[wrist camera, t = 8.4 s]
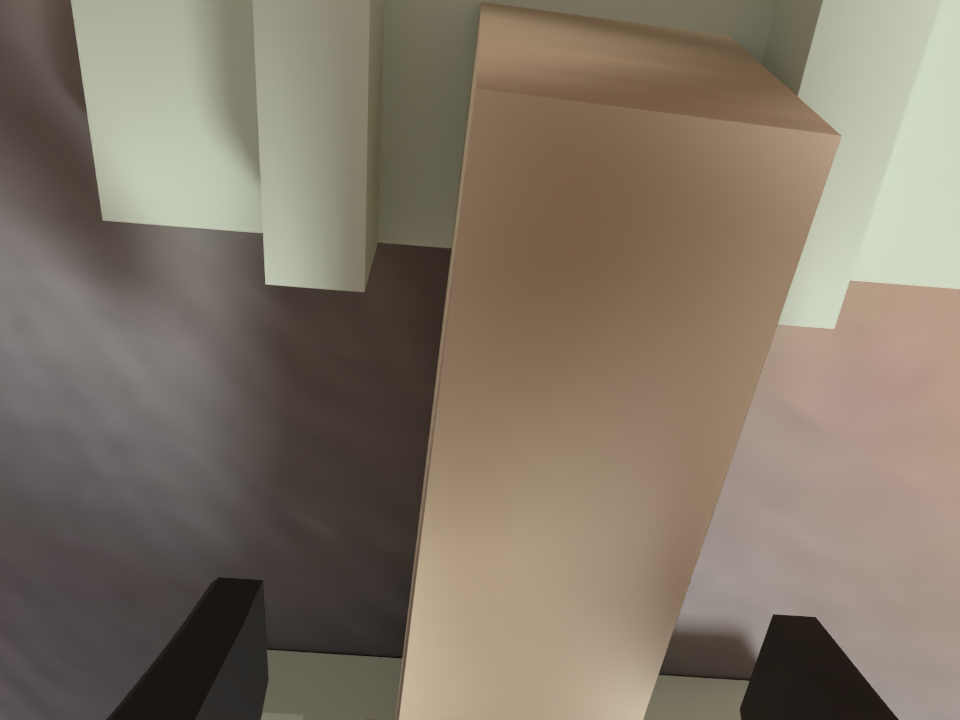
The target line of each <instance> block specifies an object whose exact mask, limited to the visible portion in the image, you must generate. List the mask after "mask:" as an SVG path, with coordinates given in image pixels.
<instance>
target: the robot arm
mask: <svg viewBox="0 0 960 720" xmlns="http://www.w3.org/2000/svg"><path fill="white" fill-rule="evenodd" d="M268 680H269V676H268V659H267V642H266V625H265V608H264V591H263V580H250V579H235V578H220V577H219V578H218V579H216V580H215V581H213V582H212V583H211V584H210V586H209V587H208V589H207V590H206V592H205V593H204V595H203V596H202V598H201V599H200V601H199V602H198V603H197V605H196V606H195V608H194V609H193V611H192V612H191V613H190V615H189V616H188V618H187V619H186V620H185V622H184V623H183V625H182V626H181V627H180V629H179V630H178V631H177V633H176V634H175V635H174V637H173V638H172V639H171V641H170V642H169V643H168V645H167V646H166V647H165V649H164V650H163V651H162V652H161V654H160V655H159V656H158V658H157V659H156V660H155V661H154V663H153V664H152V665H151V666H150V668H149V669H148V670H147V671H146V673H145V674H144V675H143V676H142V677H141V679H140V680H139V681H138V682H137V684H136V685H135V686H134V687H133V689H132V690H131V691H130V692H129V693H128V695H127V696H126V697H125V698H124V700H123V701H122V702H121V703H120V704H119V706H118V707H117V708H116V709H115V710H114V711H113V713H112V714H111V715H110V716H109V717H108V718H107V719H106V720H261V716H262V711H263V706H264V701H265V696H266V691H267V686H268ZM740 715H741V720H898V718H897V717H896V716H895V715H894V714H893V712H892V711H891V710H890V709H889V708H888V706H887V705H886V704H885V703H884V701H883V700H882V699H881V698H880V696H879V695H878V694H877V693H876V692H875V690H874V689H873V688H872V687H871V685H870V684H869V683H868V682H867V680H866V679H865V678H864V677H863V675H862V674H861V673H860V672H859V670H858V669H857V668H856V667H855V666H854V664H853V663H852V662H851V661H850V659H849V658H848V657H847V656H846V654H845V653H844V652H843V651H842V649H841V648H840V647H839V646H838V644H837V643H836V642H835V641H834V639H833V638H832V637H831V636H830V634H829V633H828V632H827V631H826V629H825V628H824V627H823V626H822V625H821V623H820V622H819V621H818V620H817V618H816V617H804V616H789V615H774V614H773V616H772V619H771V622H770V625H769V628H768V630H767V633H766V636H765V639H764V642H763V645H762V647H761V650H760V653H759V656H758V659H757V661H756V664H755V667H754V670H753V673H752V676H751V678H750V681H749V684H748V687H747V690H746V692H745V695H744V698H743V701H742V704H741V707H740Z"/></svg>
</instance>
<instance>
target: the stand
mask: <svg viewBox="0 0 960 720" xmlns="http://www.w3.org/2000/svg"><path fill="white" fill-rule="evenodd" d="M481 2H485V3H493V4H500V5H507V6H515V7H522V8H529V9H537V10H544V11H551V12H559V13H566V14H574V15H581V16H588V17H596V18H603V19H610V20H618V21H625V22H632V23H640V24H647V25H654V26H662V27H669V28H676V29H684V30H691V31H698V32H706V33H713V34H720V35H728V36H730V37H731V38H732V39H733V40H735V41H736V42H737V43H738V44H739V45H740V46H741V47H742V48H744V49H745V50H746V51H747V52H748V53H749V54H750V55H751V56H753V57H754V58H755V59H756V60H757V61H758V62H759V63H760V64H762V65H763V66H764V67H765V68H766V69H767V70H768V71H769V72H771V73H772V74H773V75H774V76H775V77H776V78H777V79H778V80H780V81H781V82H782V83H783V84H784V85H785V86H786V87H787V88H789V89H790V90H791V91H792V92H793V93H794V94H795V95H796V96H798V97H799V98H800V99H801V100H802V101H803V102H804V103H805V104H807V105H808V106H809V107H810V108H811V109H812V110H813V111H814V112H816V113H817V114H818V115H819V116H820V117H821V118H822V119H823V120H825V121H826V122H827V123H828V124H829V125H830V126H831V127H832V128H834V129H835V130H836V131H837V132H838V133H839V134H840V135H841V136H842V137H841V140H840V143H839V146H838V149H837V152H836V154H835V157H834V160H833V163H832V166H831V169H830V172H829V175H828V178H827V181H826V184H825V187H824V190H823V193H822V196H821V199H820V201H819V204H818V207H817V210H816V213H815V216H814V219H813V222H812V225H811V228H810V231H809V234H808V237H807V240H806V243H805V246H804V248H803V251H802V254H801V257H800V260H799V263H798V266H797V269H796V272H795V275H794V278H793V281H792V284H791V287H790V290H789V293H788V295H787V298H786V301H785V304H784V307H783V310H782V313H781V316H780V319H779V322H778V325H791V326H804V327H817V328H829V329H834V328H835V325H836V321H837V318H838V315H839V312H840V309H841V306H842V303H843V300H844V297H845V294H846V291H847V288H848V285H849V282H850V280H853V281H865V282H878V283H890V284H903V285H915V286H928V287H940V288H953V289H960V0H71V5H72V12H73V19H74V26H75V33H76V40H77V47H78V54H79V61H80V67H81V74H82V81H83V88H84V95H85V102H86V109H87V116H88V123H89V130H90V137H91V143H92V150H93V157H94V164H95V171H96V178H97V185H98V192H99V199H100V206H101V213H102V220H103V221H115V222H127V223H140V224H152V225H165V226H177V227H190V228H202V229H215V230H227V231H240V232H252V233H263V244H264V265H265V285H278V286H291V287H304V288H317V289H329V290H342V291H355V292H365V289H366V285H367V282H368V278H369V274H370V270H371V267H372V263H373V259H374V255H375V252H376V248H377V244H378V243H390V244H402V245H415V246H427V247H440V248H452V240H453V232H454V223H455V215H456V207H457V198H458V190H459V182H460V173H461V165H462V157H463V148H464V140H465V131H466V123H467V115H468V106H469V98H470V90H471V81H472V73H473V65H474V56H475V48H476V39H477V31H478V23H479V14H480V6H481ZM267 659H268V676H269V680H268V686H267V691H266V696H265V701H264V706H263V711H262V716H261V720H395V717H396V709H397V700H398V692H399V684H400V675H401V667H402V659H401V658H386V657H370V656H354V655H339V654H323V653H308V652H292V651H276V650H267ZM748 684H749V681H744V680H728V679H713V678H697V677H682V676H666V675H658V677H657V680H656V683H655V686H654V689H653V692H652V695H651V698H650V701H649V704H648V707H647V709H646V712H645V715H644V718H643V720H741V715H740V707H741V704H742V701H743V698H744V695H745V692H746V690H747V687H748Z"/></svg>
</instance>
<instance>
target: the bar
mask: <svg viewBox="0 0 960 720" xmlns="http://www.w3.org/2000/svg"><path fill="white" fill-rule="evenodd" d="M841 137H842V136H841V135H840V134H839V133H838V132H837V131H836V130H835V129H834V128H832V127H831V126H830V125H829V124H828V123H827V122H826V121H825V120H823V119H822V118H821V117H820V116H819V115H818V114H817V113H816V112H814V111H813V110H812V109H811V108H810V107H809V106H808V105H807V104H805V103H804V102H803V101H802V100H801V99H800V98H799V97H798V96H796V95H795V94H794V93H793V92H792V91H791V90H790V89H789V88H787V87H786V86H785V85H784V84H783V83H782V82H781V81H780V80H778V79H777V78H776V77H775V76H774V75H773V74H772V73H771V72H769V71H768V70H767V69H766V68H765V67H764V66H763V65H762V64H760V63H759V62H758V61H757V60H756V59H755V58H754V57H753V56H751V55H750V54H749V53H748V52H747V51H746V50H745V49H744V48H742V47H741V46H740V45H739V44H738V43H737V42H736V41H735V40H733V39H732V38H731V37H730V36H728V35H720V34H713V33H706V32H698V31H691V30H684V29H676V28H669V27H662V26H654V25H647V24H640V23H632V22H625V21H618V20H610V19H603V18H596V17H588V16H581V15H574V14H566V13H559V12H551V11H544V10H537V9H529V8H522V7H515V6H507V5H500V4H493V3H485V2H481V6H480V14H479V23H478V31H477V39H476V48H475V56H474V65H473V73H472V81H471V90H470V98H469V106H468V115H467V123H466V131H465V140H464V148H463V157H462V165H461V173H460V182H459V190H458V198H457V207H456V215H455V223H454V232H453V240H452V249H451V257H450V265H449V274H448V282H447V290H446V299H445V307H444V315H443V324H442V332H441V341H440V349H439V357H438V366H437V374H436V382H435V391H434V399H433V407H432V416H431V424H430V433H429V441H428V449H427V458H426V466H425V474H424V483H423V491H422V499H421V508H420V516H419V525H418V533H417V541H416V550H415V558H414V566H413V575H412V583H411V592H410V600H409V608H408V617H407V625H406V633H405V642H404V650H403V658H402V667H401V675H400V684H399V692H398V700H397V709H396V717H395V720H643V718H644V715H645V712H646V709H647V707H648V704H649V701H650V698H651V695H652V692H653V689H654V686H655V683H656V680H657V677H658V674H659V671H660V668H661V665H662V662H663V660H664V657H665V654H666V651H667V648H668V645H669V642H670V639H671V636H672V633H673V630H674V627H675V624H676V621H677V618H678V616H679V613H680V610H681V607H682V604H683V601H684V598H685V595H686V592H687V589H688V586H689V583H690V580H691V577H692V574H693V571H694V569H695V566H696V563H697V560H698V557H699V554H700V551H701V548H702V545H703V542H704V539H705V536H706V533H707V530H708V527H709V524H710V522H711V519H712V516H713V513H714V510H715V507H716V504H717V501H718V498H719V495H720V492H721V489H722V486H723V483H724V480H725V477H726V475H727V472H728V469H729V466H730V463H731V460H732V457H733V454H734V451H735V448H736V445H737V442H738V439H739V436H740V433H741V431H742V428H743V425H744V422H745V419H746V416H747V413H748V410H749V407H750V404H751V401H752V398H753V395H754V392H755V389H756V386H757V384H758V381H759V378H760V375H761V372H762V369H763V366H764V363H765V360H766V357H767V354H768V351H769V348H770V345H771V342H772V339H773V337H774V334H775V331H776V328H777V325H778V322H779V319H780V316H781V313H782V310H783V307H784V304H785V301H786V298H787V295H788V293H789V290H790V287H791V284H792V281H793V278H794V275H795V272H796V269H797V266H798V263H799V260H800V257H801V254H802V251H803V248H804V246H805V243H806V240H807V237H808V234H809V231H810V228H811V225H812V222H813V219H814V216H815V213H816V210H817V207H818V204H819V201H820V199H821V196H822V193H823V190H824V187H825V184H826V181H827V178H828V175H829V172H830V169H831V166H832V163H833V160H834V157H835V154H836V152H837V149H838V146H839V143H840V140H841Z"/></svg>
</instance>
